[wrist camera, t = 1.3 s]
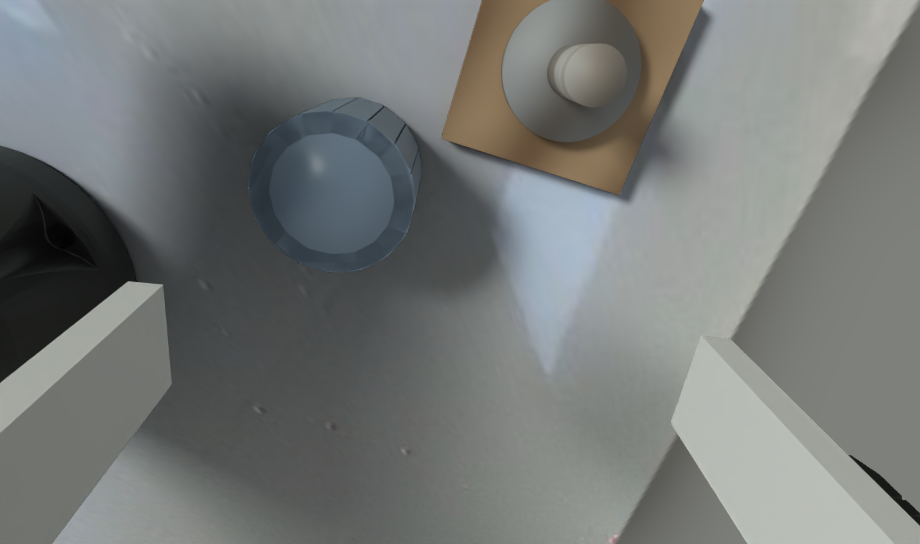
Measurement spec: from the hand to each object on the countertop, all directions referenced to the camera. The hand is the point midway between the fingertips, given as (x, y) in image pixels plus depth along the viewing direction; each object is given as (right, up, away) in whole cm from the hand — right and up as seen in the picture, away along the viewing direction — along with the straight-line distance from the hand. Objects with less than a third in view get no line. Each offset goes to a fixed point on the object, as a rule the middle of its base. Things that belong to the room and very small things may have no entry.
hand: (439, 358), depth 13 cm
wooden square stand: (+6, +13, +14) cm, 20 cm away
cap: (-5, +8, +16) cm, 19 cm away
